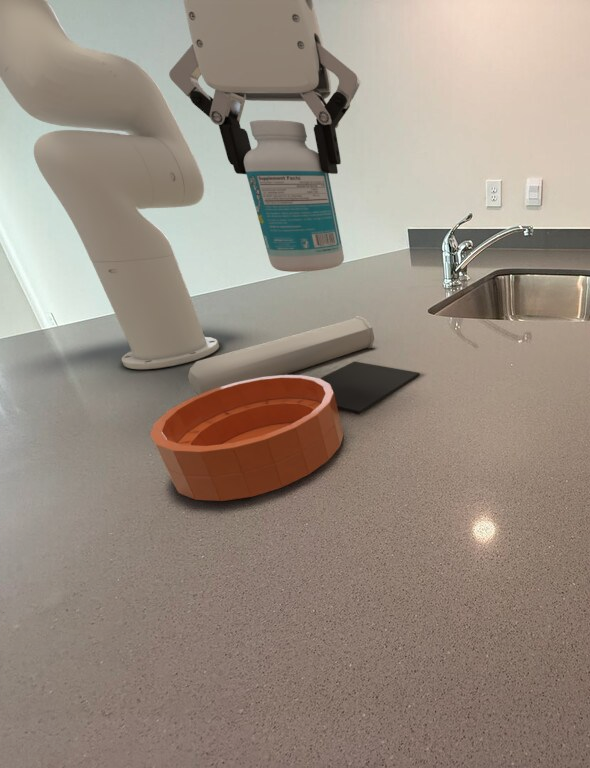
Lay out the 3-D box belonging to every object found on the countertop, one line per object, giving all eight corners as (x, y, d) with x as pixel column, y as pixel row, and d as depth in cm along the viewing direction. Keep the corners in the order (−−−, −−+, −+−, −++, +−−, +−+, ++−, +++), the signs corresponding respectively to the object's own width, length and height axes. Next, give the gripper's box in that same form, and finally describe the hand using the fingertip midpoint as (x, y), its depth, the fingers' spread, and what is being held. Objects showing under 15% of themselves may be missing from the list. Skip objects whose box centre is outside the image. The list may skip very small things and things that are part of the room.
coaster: (287, 397, 52) (286, 394, 52) (354, 363, 62) (354, 361, 62) (360, 414, 48) (359, 411, 48) (419, 375, 58) (419, 372, 57)
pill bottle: (289, 262, 48) (257, 128, 42) (353, 261, 48) (330, 128, 43) (258, 274, 41) (214, 116, 35) (332, 272, 42) (302, 116, 36)
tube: (194, 379, 48) (375, 325, 66) (175, 356, 50) (355, 310, 68) (204, 412, 51) (374, 352, 69) (186, 389, 53) (355, 337, 71)
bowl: (139, 480, 37) (113, 429, 35) (278, 408, 49) (265, 367, 47) (246, 525, 32) (224, 468, 30) (373, 432, 44) (364, 387, 42)
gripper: (355, -42, 37) (384, 174, 45) (153, -49, 36) (218, 175, 44) (331, -93, 31) (369, 171, 38) (80, -104, 29) (172, 173, 37)
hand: (288, 172), depth 41 cm, fingers closed on pill bottle, 7 cm apart
